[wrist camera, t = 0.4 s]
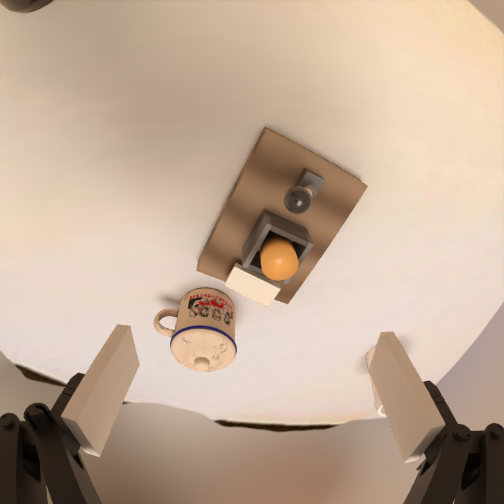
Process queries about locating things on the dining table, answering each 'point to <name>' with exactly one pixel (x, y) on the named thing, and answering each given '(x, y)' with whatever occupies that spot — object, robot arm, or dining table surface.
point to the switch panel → (280, 211)
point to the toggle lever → (299, 199)
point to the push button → (278, 258)
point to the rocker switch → (252, 285)
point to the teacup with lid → (202, 330)
